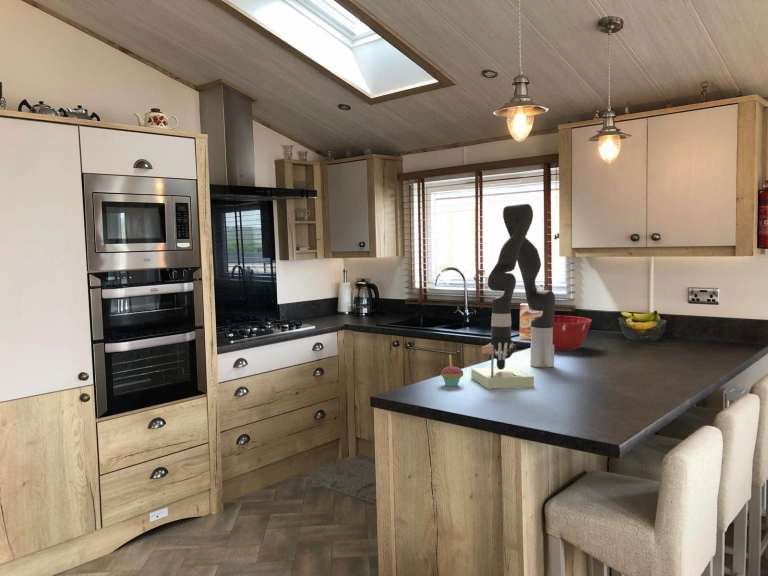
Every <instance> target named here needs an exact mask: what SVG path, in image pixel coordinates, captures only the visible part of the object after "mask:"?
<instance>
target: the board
mask: <svg viewBox="0 0 768 576" xmlns="http://www.w3.org/2000/svg"><path fill="white" fill-rule="evenodd" d="M494 350H495V349H494V345H492V346H485V345H483V346H481V354H489V353H491V355H490V357H491V358H490V359H491V363H490V367H471V369H470V372H471V373H470V375H471V377H470V378H471V379H472V380H473V379H474V380H473V381H475V382H476V381H477V382H476V383H477V384H479V383H480V384H479V385H481V386H482V385H483V387H484V388H485V387H486V389H487V390H493V389H492V388H502V389H513V388H512V387H523V388H534V387H535V378H534V377H535V376H534V375H532V374H531V373H528V372H526V371H524V370H522V369H521V368H518V367H516V366H505V368H504V369H502V370H499V369H498V368H497V366H496V367H494V359H495V358H494V353H495V351H494ZM503 372H510V373H511V374H512V375H513V376H512V377H502V376H501V374H502V373H503Z"/></svg>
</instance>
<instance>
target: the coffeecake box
mask: <svg viewBox="0 0 768 576" xmlns="http://www.w3.org/2000/svg"><path fill="white" fill-rule="evenodd" d="M542 313H543V311H534V310H531V309H530V308H529V306H528V303H520V306H519V340H530V339H531V321H532V320H533V318H535V317H538V316H542Z"/></svg>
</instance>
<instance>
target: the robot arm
mask: <svg viewBox="0 0 768 576" xmlns="http://www.w3.org/2000/svg"><path fill="white" fill-rule="evenodd" d="M502 210H503V211H502V218H503V222H504V223H503V224H504V225H505V227H506V231H507V233H508V235H509V238H507V240H506V241H505V242H504V244H503V245H502V247H501V248H500V252H499V255H498V260H497V262H496V264H495V266H494V267H493V269H492V270H491V272H490V274H489V275H488V278H487V287H488V288H489V290H490V291H494V292H503V295H501V296H498V297H494V298H493V299H492V300H491V301H492V302H491V306H492V307H491V321H490V322H491V323H490V325H491V332H490V335H491V336H490V337H491V338H490V340H489V343H488V344H485V345H484V346H492V345H494V350H495V351H494V359H495V360H496V367H497V368H498V369H499V370H502V369H504V368H505V367H506V360H507V359H510V357H511V356H512V355H513V354H514V352H515V351H516V350H517V348H518V345H517V344H514V342H513V340H512V315H511V313H512V312H511V311H512V310H511V307H512V305H511V304H512V299H513V295H514V292H515V288H516V284H517V279H516V276H515V275H514V274H513V273H510V272H513V271H515V268H516V265H518V268H519V271H520V274H521V278H522V283H523V285H524V292H525V298H526V302H527V303H526V304H528V306H529V308H530V309H531V310H534V311H543V313H542V316H541V317H539V318H536V319H533V320H532V321H531V340H530V358H529V359H530V363H529V365H530V366H531V367H532V368H533V367H534V368H543V369H544V368H545V369H546V368H551V367H553V368H554V367H555V350H554V345H553V344H552V341H553V321H554V316H555V307H556V295H555V293H554V292H553V290H548V289H547V290H546V289H538V288H537V286H536V279H537V276H538V275H539V273H540V270H541V266H542V262H541V258H540V254H539V251H538V249H537V247H536V246H535V245H534V244H533V243H532V241H531V240H529V239H528V238H527V237H526V236H527V234H528V232H529V230H530V227H531V225H532V222H533V220H534V219H533V218H534V211H533V208H532V206H531V205H530V204H529V203H516V204H515V203H513V204H509V205H508V204H507V205H505V206H504V207H503V209H502ZM488 354H489V355H490V356H491V353H488Z"/></svg>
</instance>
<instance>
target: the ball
mask: <svg viewBox="0 0 768 576" xmlns="http://www.w3.org/2000/svg"><path fill="white" fill-rule="evenodd" d="M501 376H502V377H512V376H513V375H512V374H511V373H510V372H503V373H502V374H501Z"/></svg>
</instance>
